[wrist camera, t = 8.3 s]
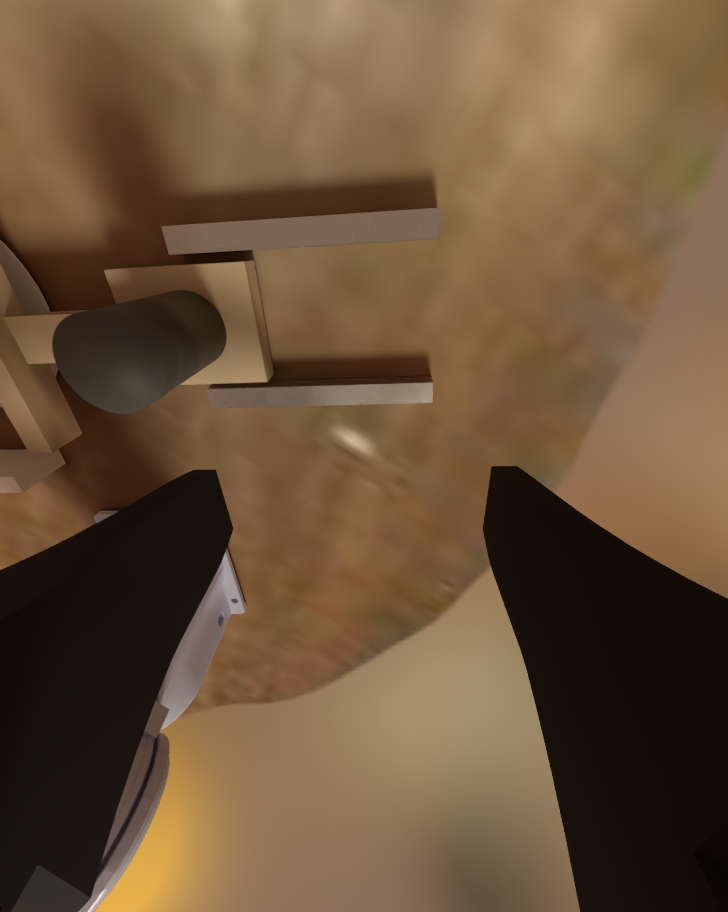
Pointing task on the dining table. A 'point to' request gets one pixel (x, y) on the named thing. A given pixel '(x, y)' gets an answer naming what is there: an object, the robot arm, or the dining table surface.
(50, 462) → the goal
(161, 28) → the dining table surface
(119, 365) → the pushrod
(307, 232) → the rail
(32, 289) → the teacup
